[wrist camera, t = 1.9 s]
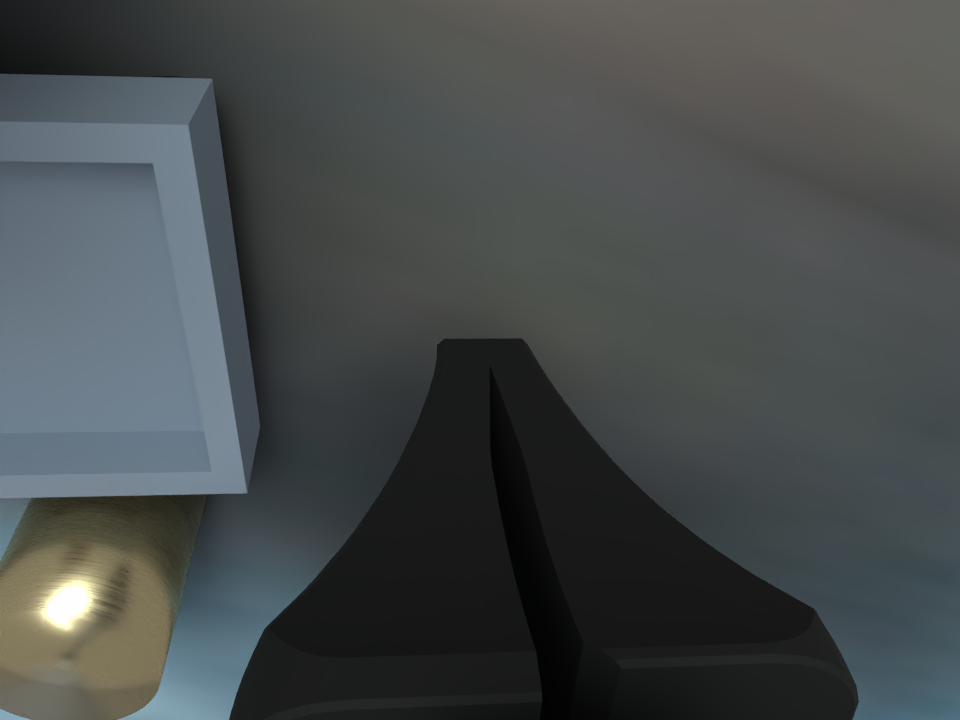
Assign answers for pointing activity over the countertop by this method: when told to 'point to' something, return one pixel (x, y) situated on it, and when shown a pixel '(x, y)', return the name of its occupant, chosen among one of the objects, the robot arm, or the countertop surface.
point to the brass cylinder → (92, 602)
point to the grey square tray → (119, 292)
